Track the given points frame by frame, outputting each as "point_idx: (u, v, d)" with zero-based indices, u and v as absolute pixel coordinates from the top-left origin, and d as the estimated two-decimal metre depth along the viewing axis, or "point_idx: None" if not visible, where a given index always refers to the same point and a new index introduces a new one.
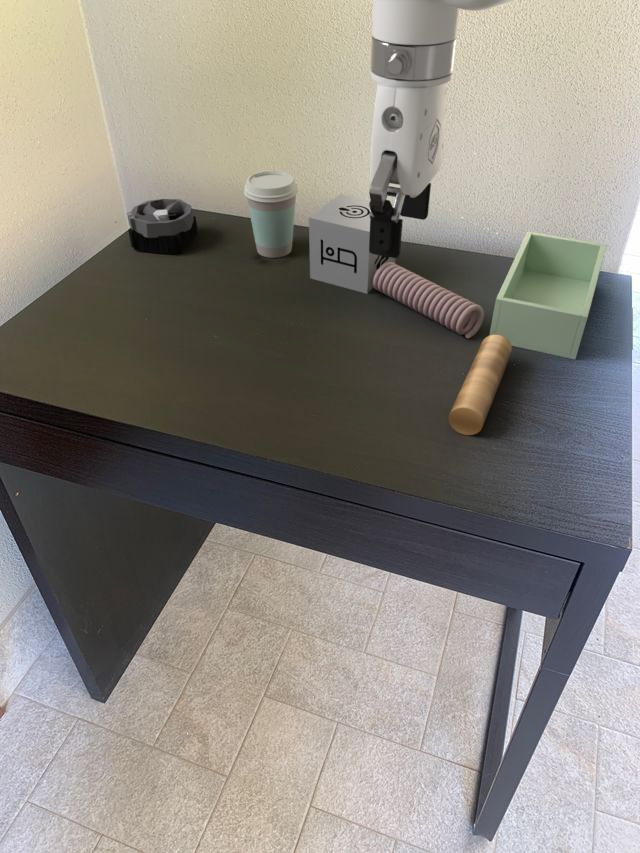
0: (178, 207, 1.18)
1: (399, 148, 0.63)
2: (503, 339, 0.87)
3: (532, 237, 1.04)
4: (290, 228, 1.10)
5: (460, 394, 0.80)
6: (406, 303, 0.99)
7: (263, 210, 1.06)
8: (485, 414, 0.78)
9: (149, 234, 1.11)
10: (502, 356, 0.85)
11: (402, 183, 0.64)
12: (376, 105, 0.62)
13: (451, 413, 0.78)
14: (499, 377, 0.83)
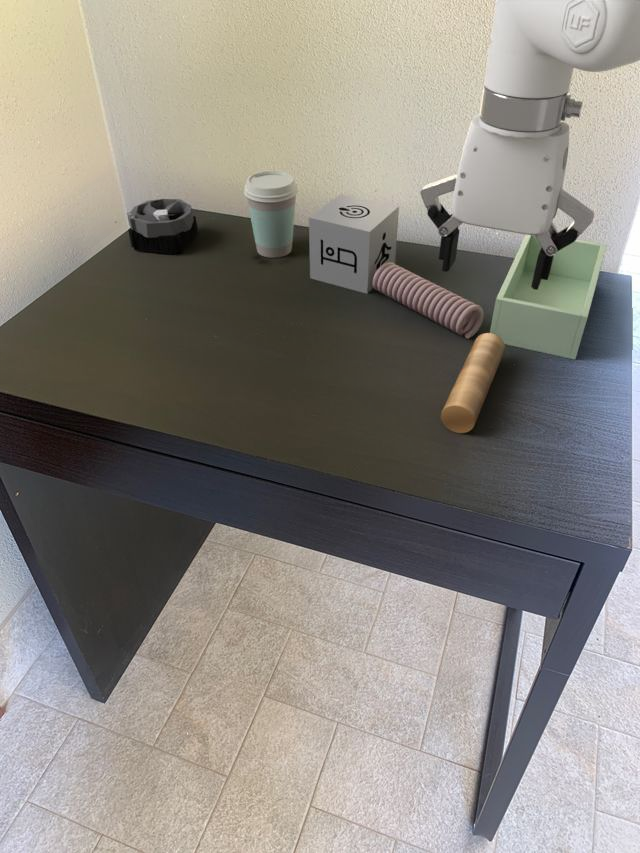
0: (178, 207, 1.18)
1: (563, 180, 0.66)
2: (489, 335, 0.88)
3: (532, 237, 1.04)
4: (290, 228, 1.10)
5: (448, 397, 0.81)
6: (405, 303, 0.99)
7: (263, 210, 1.06)
8: (474, 406, 0.78)
9: (149, 234, 1.11)
10: (489, 350, 0.85)
11: None
12: (559, 154, 0.62)
13: (441, 416, 0.79)
14: (488, 369, 0.83)
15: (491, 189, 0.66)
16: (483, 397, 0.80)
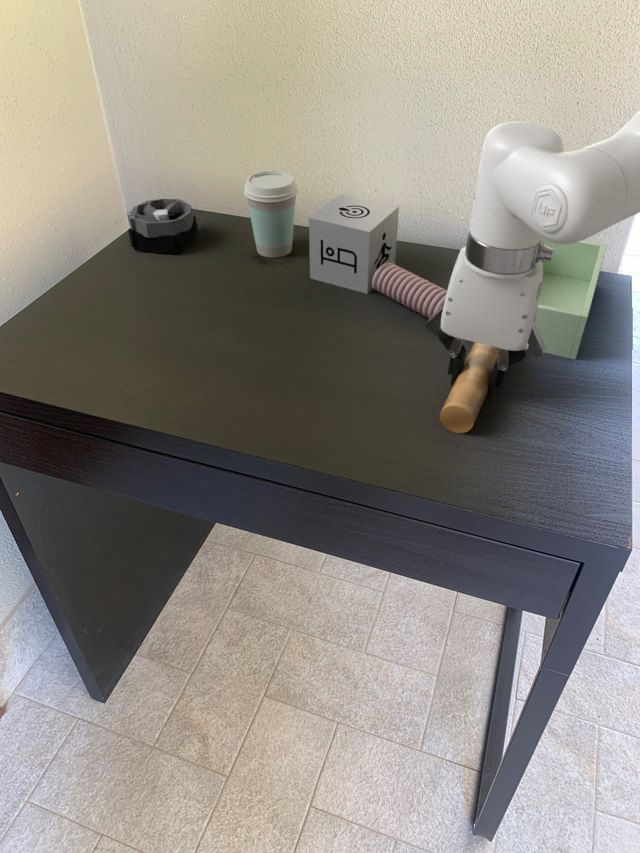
0: (178, 207, 1.18)
1: (537, 306, 0.76)
2: None
3: None
4: (290, 228, 1.10)
5: None
6: (405, 303, 0.99)
7: (263, 210, 1.06)
8: (472, 405, 0.78)
9: (149, 234, 1.11)
10: (488, 350, 0.85)
11: None
12: (533, 290, 0.72)
13: (440, 417, 0.79)
14: (487, 369, 0.83)
15: (475, 313, 0.76)
16: (482, 396, 0.80)
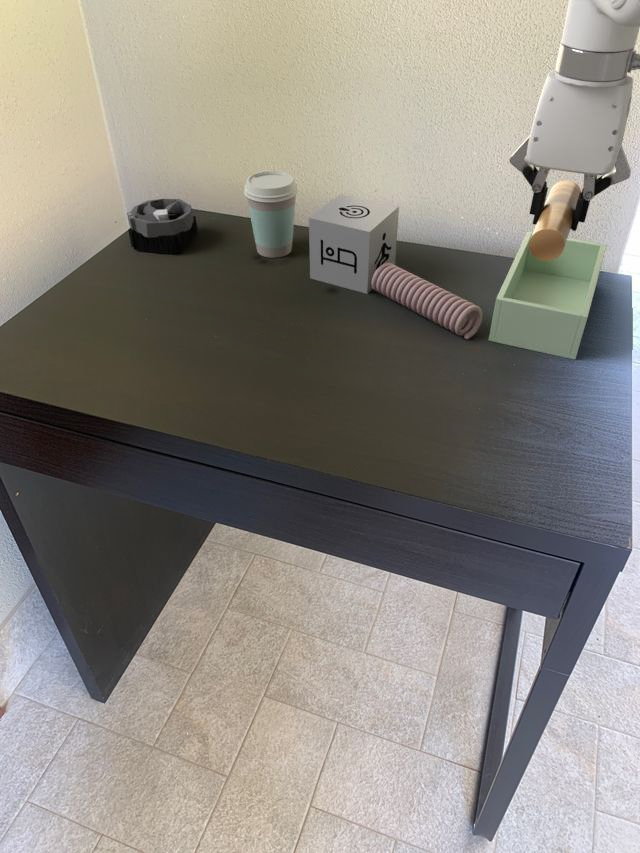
0: (178, 207, 1.18)
1: None
2: (565, 181, 0.89)
3: None
4: (290, 228, 1.10)
5: None
6: (404, 304, 0.99)
7: (263, 210, 1.06)
8: (562, 230, 0.79)
9: (149, 234, 1.11)
10: (567, 191, 0.87)
11: None
12: (625, 101, 0.73)
13: (530, 245, 0.80)
14: (570, 205, 0.84)
15: (564, 134, 0.77)
16: (569, 226, 0.82)
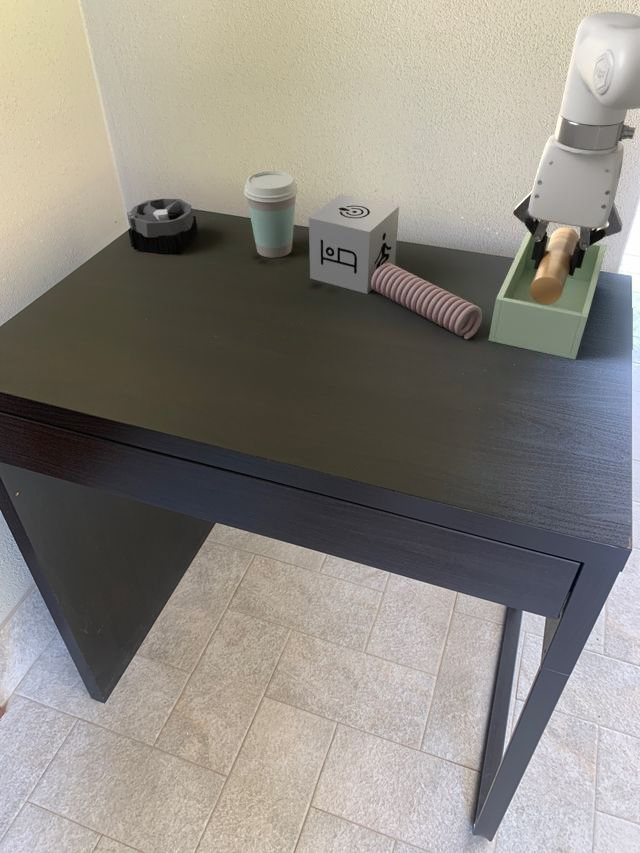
0: (178, 207, 1.18)
1: (617, 186, 0.86)
2: (564, 228, 0.98)
3: (532, 237, 1.04)
4: (290, 228, 1.10)
5: None
6: (404, 304, 0.99)
7: (263, 210, 1.06)
8: (560, 277, 0.88)
9: (149, 234, 1.11)
10: (566, 239, 0.96)
11: None
12: (616, 166, 0.82)
13: (531, 290, 0.89)
14: (568, 252, 0.93)
15: (562, 193, 0.86)
16: (566, 273, 0.91)
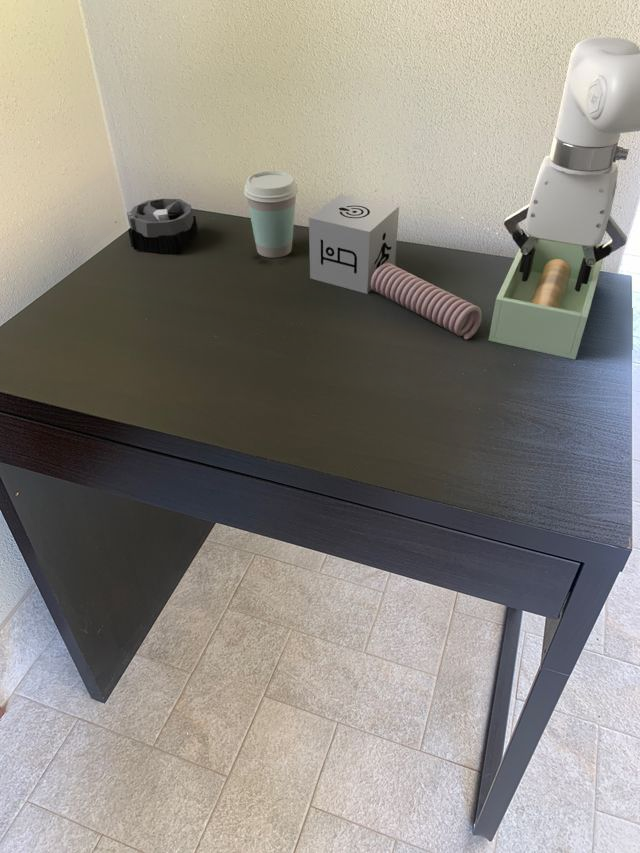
0: (178, 207, 1.18)
1: None
2: (557, 260, 1.01)
3: None
4: (290, 228, 1.10)
5: None
6: (403, 304, 0.99)
7: (263, 210, 1.06)
8: None
9: (149, 234, 1.11)
10: (558, 271, 0.99)
11: None
12: (610, 186, 0.84)
13: None
14: (560, 285, 0.96)
15: (557, 212, 0.88)
16: (558, 307, 0.94)
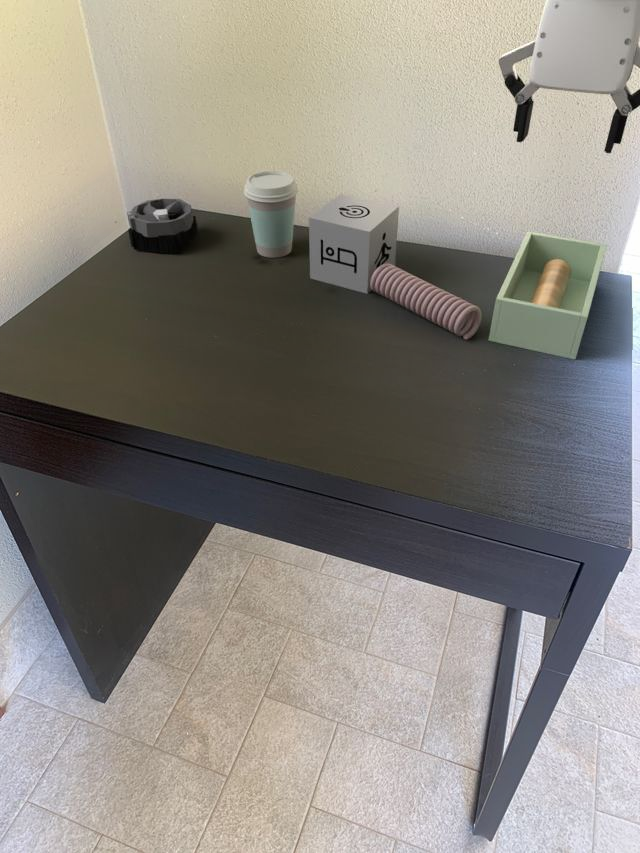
0: (178, 207, 1.18)
1: (639, 37, 0.70)
2: (556, 260, 1.01)
3: (532, 237, 1.04)
4: (290, 228, 1.10)
5: None
6: (403, 304, 0.99)
7: (263, 210, 1.06)
8: None
9: (149, 234, 1.11)
10: (558, 271, 0.99)
11: None
12: (639, 4, 0.66)
13: None
14: (559, 285, 0.96)
15: (570, 47, 0.70)
16: (558, 306, 0.94)
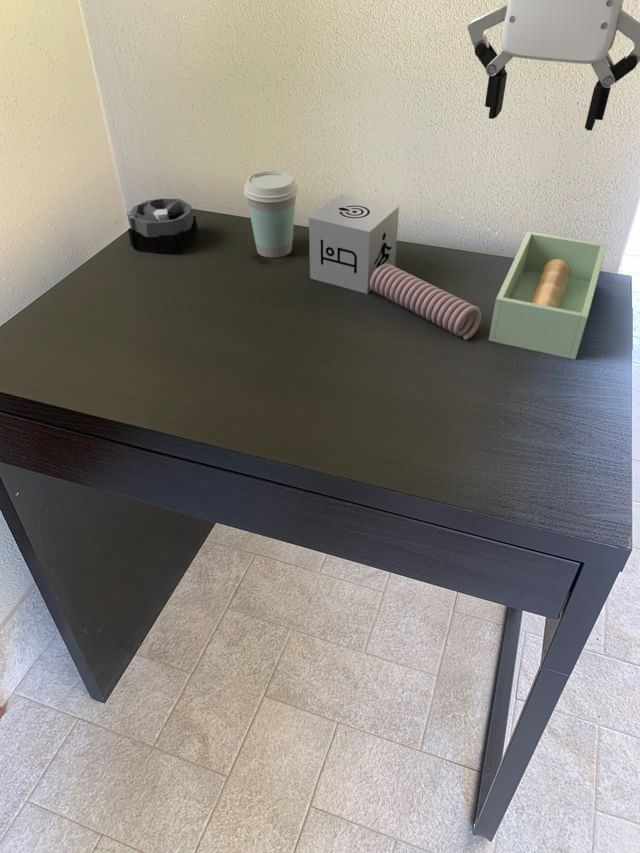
0: (178, 207, 1.18)
1: None
2: (556, 260, 1.01)
3: (532, 237, 1.04)
4: (290, 228, 1.10)
5: None
6: (403, 304, 0.99)
7: (263, 210, 1.06)
8: None
9: (149, 234, 1.11)
10: (558, 271, 0.99)
11: None
12: None
13: None
14: (559, 285, 0.96)
15: (546, 9, 0.62)
16: (558, 306, 0.94)
